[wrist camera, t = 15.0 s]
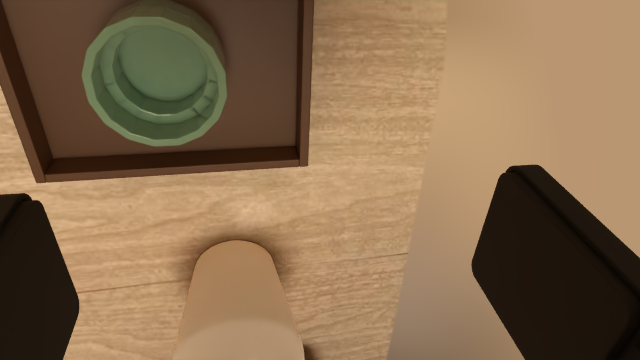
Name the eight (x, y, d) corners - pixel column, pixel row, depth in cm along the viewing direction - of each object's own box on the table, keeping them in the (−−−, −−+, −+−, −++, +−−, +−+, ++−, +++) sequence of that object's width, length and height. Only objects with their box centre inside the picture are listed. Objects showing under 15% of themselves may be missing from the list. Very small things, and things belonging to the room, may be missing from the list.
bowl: (220, -3, 26) (221, 17, 22) (228, 110, 29) (230, 143, 26) (88, -4, 24) (65, 16, 21) (115, 115, 28) (100, 149, 24)
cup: (287, 297, 41) (309, 426, 31) (187, 310, 40) (178, 450, 30) (286, 222, 36) (312, 347, 26) (172, 233, 35) (154, 371, 25)
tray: (308, -71, 25) (316, -67, 23) (302, 148, 33) (308, 166, 31) (-36, -84, 22) (-62, -81, 20) (48, 162, 30) (36, 183, 28)
